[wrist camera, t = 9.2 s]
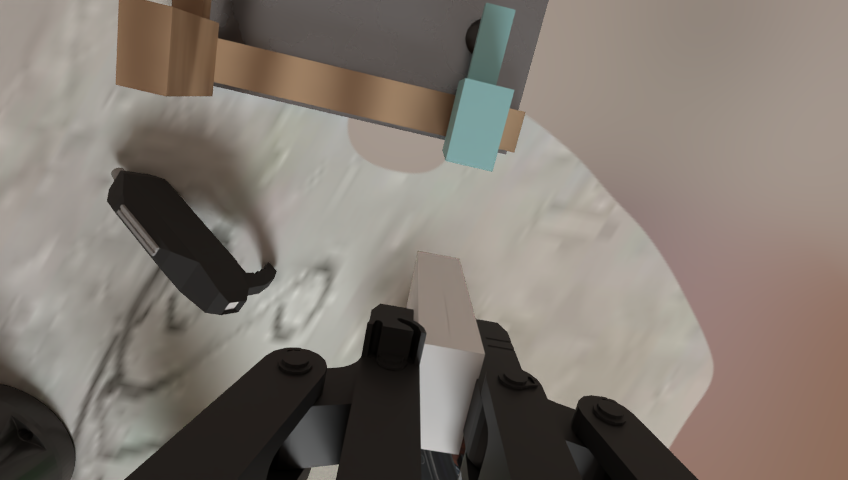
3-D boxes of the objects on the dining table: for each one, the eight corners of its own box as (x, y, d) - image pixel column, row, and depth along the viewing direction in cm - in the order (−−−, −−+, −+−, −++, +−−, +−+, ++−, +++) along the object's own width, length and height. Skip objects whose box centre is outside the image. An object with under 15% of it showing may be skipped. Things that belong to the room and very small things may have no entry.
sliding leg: (441, 145, 38) (445, 160, 30) (472, 11, 36) (488, -16, 27) (477, 154, 39) (492, 171, 30) (511, 21, 36) (539, -3, 27)
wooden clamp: (183, 85, 37) (107, 82, 28) (195, -58, 35) (113, -112, 26) (504, 160, 39) (527, 179, 30) (540, 29, 36) (578, 7, 27)
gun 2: (198, 172, 46) (94, 153, 37) (303, 286, 42) (214, 297, 32) (184, 195, 47) (78, 181, 38) (285, 309, 42) (192, 327, 33)
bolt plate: (191, 79, 38) (183, 78, 37) (205, -89, 35) (196, -97, 34) (503, 152, 40) (506, 154, 39) (546, -2, 37) (550, -6, 35)
